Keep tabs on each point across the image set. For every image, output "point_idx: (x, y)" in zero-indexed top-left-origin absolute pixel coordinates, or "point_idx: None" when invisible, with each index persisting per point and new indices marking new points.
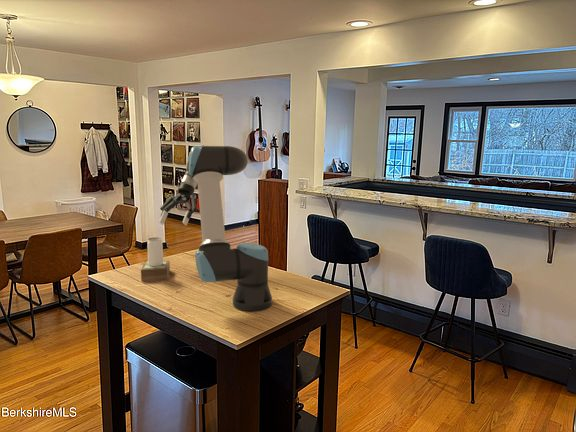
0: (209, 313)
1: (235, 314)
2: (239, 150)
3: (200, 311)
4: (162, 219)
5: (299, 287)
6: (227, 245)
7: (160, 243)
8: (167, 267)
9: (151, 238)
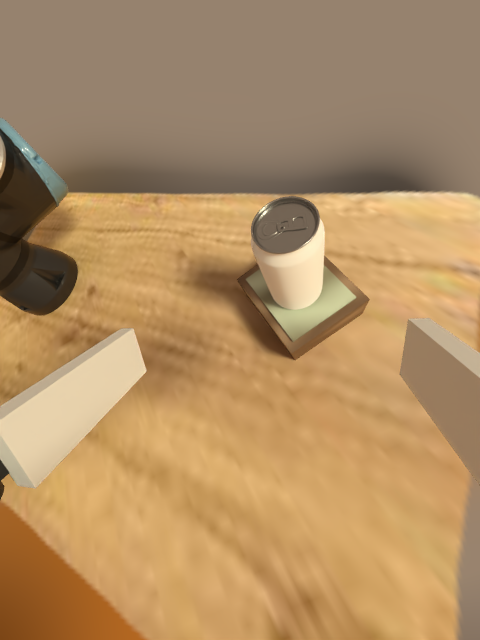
0: (99, 223)
1: (68, 241)
2: None
3: (113, 221)
4: (429, 360)
5: None
6: None
7: (251, 242)
8: (247, 293)
9: (316, 227)
